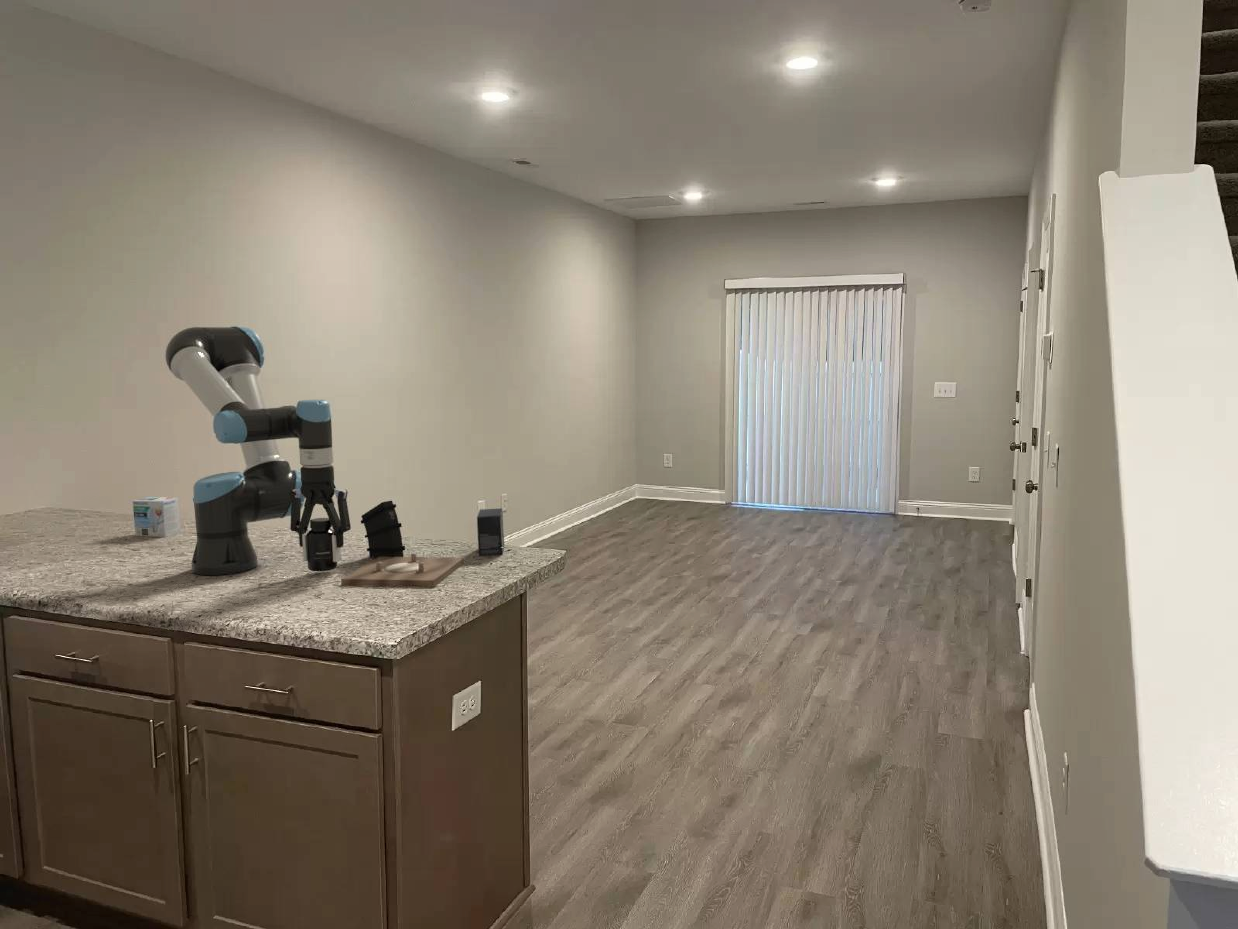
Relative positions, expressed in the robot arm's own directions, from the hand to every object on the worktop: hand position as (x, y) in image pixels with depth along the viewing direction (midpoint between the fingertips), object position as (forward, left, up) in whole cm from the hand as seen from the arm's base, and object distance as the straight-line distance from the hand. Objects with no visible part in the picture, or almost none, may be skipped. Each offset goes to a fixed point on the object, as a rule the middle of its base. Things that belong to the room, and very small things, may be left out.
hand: (322, 560), depth 222 cm
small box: (+34, +26, -4) cm, 43 cm away
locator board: (+20, +1, -3) cm, 21 cm away
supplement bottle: (0, 0, -2) cm, 2 cm away
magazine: (+8, +17, -4) cm, 19 cm away
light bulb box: (-73, +43, -4) cm, 84 cm away
